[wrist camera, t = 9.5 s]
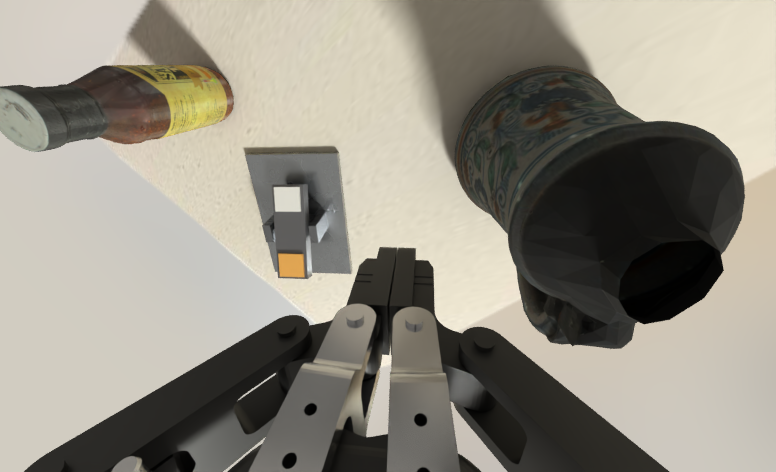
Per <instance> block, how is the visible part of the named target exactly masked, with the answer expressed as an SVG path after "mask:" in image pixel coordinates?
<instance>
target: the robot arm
mask: <svg viewBox="0 0 776 472" xmlns="http://www.w3.org/2000/svg"><path fill="white" fill-rule="evenodd" d="M390 345H391V355H392V365H391V367H392V368H391V373H390V394H389V425H388V434H386V435H380V436H375V437H366V431H367V425H368V421H369V417H370V412H371V408H372V404H373V400H374V396H375V391H376V387H377V383H378V379H379V374H380V370H379V368H380V365H381V359H382V354H383V355H389V353H390ZM274 373H276V375H275V376H273V377H272V378H270V379H269V380H267V381H266V382H264V383H263V384H262V385H260V386H259V387H257V388H256V389H255V390H253V391H252V392H250V393H249V394H247V395H246V396H245V397H243V398H242V399H240V400H239V401H238V399H239V398H240V397H241V396H243V395H244V394H245V393H247V392H248V391H250V390H251V389H252V388H254V387H255V386H257V385H258V384H260V383H261V382H263V381H264V380H265V379H267V378H268V377H270V376H271V375H273V374H274ZM450 401H451V402H453V403H454V406H455V408H456V410H457V411H458V413H459V414H460V415H461V416H462V418H463V419H464V420H465V421H466V422H467V424H468V425H469V426H470V427H471V428H472V429H473V431H474V432H475V433H476V434H477V435H478V437H479V438H480V439H481V440H482V441H483V443H484V444H485V445H486V446H487V447H488V449H489V450H490V451H491V452H492V453H493V454H494V456H495V457H496V458H497V459H498V461H499V462H500V463H501V464H502V465H503V467H504V468H505V469H506V470H507V471H508V472H669V471H668V470H667V469H665V468H664V467H663V466H662V465H660V464H659V463H658V462H657V461H656V460H654V459H653V458H652V457H651V456H649V455H648V454H647V453H646V452H644V451H643V450H642V449H641V448H639V447H638V446H637V445H636V444H635V443H633V442H632V441H631V440H629V439H628V438H627V437H626V436H625V435H623V434H622V433H621V432H620V431H618V430H617V429H616V428H615V427H613V426H612V425H611V424H610V423H609V422H607V421H606V420H605V419H604V418H602V417H601V416H600V415H598V414H597V413H596V412H595V411H594V410H593V409H591V408H590V407H589V406H587V405H586V404H585V403H584V402H582V401H581V400H580V399H579V398H578V397H576V396H575V395H574V394H573V393H572V392H570V391H569V390H568V389H567V388H565V387H564V386H563V385H562V384H560V383H559V382H558V381H557V380H555V379H554V378H553V377H552V376H550V375H549V374H548V373H547V372H545V371H544V370H543V369H542V368H541V367H539V366H538V365H537V364H535V363H534V362H533V361H532V360H531V359H530V358H528V357H527V356H526V355H525V354H523V353H522V352H521V351H520V350H518V349H517V348H516V347H515V346H513V345H512V344H511V343H510V342H509V341H507V340H506V339H505V338H504V337H502V336H501V335H500V334H498V333H497V332H495V331H494V330H491V329H488V328H484V327H473V328H469V329H467V330H466V331H464V332H463V333H458V332H455V331H452V330H450V329H448V328H446V327H444V326H443V325H442V324H441V323H440V322H439V321H438V320H437V318H436V316H435V311H434V274H433V267H432V266H431V264H430V263H429V261H424V260H416V248H398V250H397V248H390V247H380V248H379V252H378V256H377V259H369V258H367V259H366V260H365V261H364V262H363V263H362V264H361V265H360V266H359V269H358V272H357V275H356V278H355V282H354V284H353V287H352V290H351V293H350V296H349V299H348V302H347V305H346V306H345V307H343V308H342V309H340V310H339V311H338V312H337V313H336V315H335V317H334V319H333V320H331V321H329V322H325V323H320V324H315V325H310V326H309V323H308V321H307V320H306V319H305V318H304V317H302V316H298V315H289V316H285V317H282V318H279V319H277V320H276V321H274V322H272V323H270V324H269V325H267V326H265V327H264V328H262V329H260V330H259V331H257V332H255V333H253V334H252V335H250V336H248V337H246V338H245V339H243V340H241V341H239V342H238V343H236V344H234V345H233V346H231V347H229V348H227V349H226V350H224V351H222V352H221V353H219V354H217V355H215V356H214V357H212V358H210V359H209V360H207V361H205V362H204V363H202V364H200V365H198V366H197V367H195V368H193V369H192V370H190V371H188V372H186V373H185V374H183V375H181V376H180V377H178V378H176V379H174V380H173V381H171V382H169V383H167V384H166V385H164V386H162V387H161V388H159V389H157V390H155V391H154V392H152V393H150V394H149V395H147V396H145V397H143V398H142V399H140V400H138V401H137V402H135V403H133V404H131V405H130V406H128V407H126V408H125V409H123V410H121V411H119V412H118V413H116V414H114V415H113V416H111V417H109V418H107V419H106V420H104V421H102V422H101V423H99V424H97V425H95V426H94V427H92V428H90V429H88V430H87V431H85V432H83V433H82V434H80V435H78V436H77V437H75V438H73V439H71V440H70V441H68V442H66V443H65V444H63V445H61V446H59V447H58V448H56V449H54V450H52V451H51V452H49V453H47V454H46V455H44V456H43V457H41V458H40V459H39V460H37V461H36V462H34V463H33V464H32V465H31V466H30V467H28V468H27V469H26V470H25V471H24V472H223V471H224V470H225V469H227V468H228V467H229V466H230V465H232V464H233V463H234V462H235V461H236V460H238V459H239V458H240V457H241V456H243V455H244V454H245V453H246V452H248V451H249V450H250V449H251V448H252V447H254V446H255V445H256V444H257V443H258V442H260V441H261V440H262V439H263V438H265V437H266V438H265V440H264V442H263V444H261V445H260V446H258V447H257V448H256V449H254V450H252V451H251V452H250V453H249V454H248V455H246V456H245V457H244V458H243V459H242V460H240V461H239V462H238V463H237V464H236V465H235V466H233V467H232V468H231V469H230V470H229V471H228V472H481V471H480V470H479V469H478V468H477V467H476V466H474V465H473V464H472V463H471V462H470V461H469V460H467V459H466V458H464V457H463V456H462V455H460V454H458V451H457V445H456V438H455V431H454V424H453V417H452V410H451V403H450Z"/></svg>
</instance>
